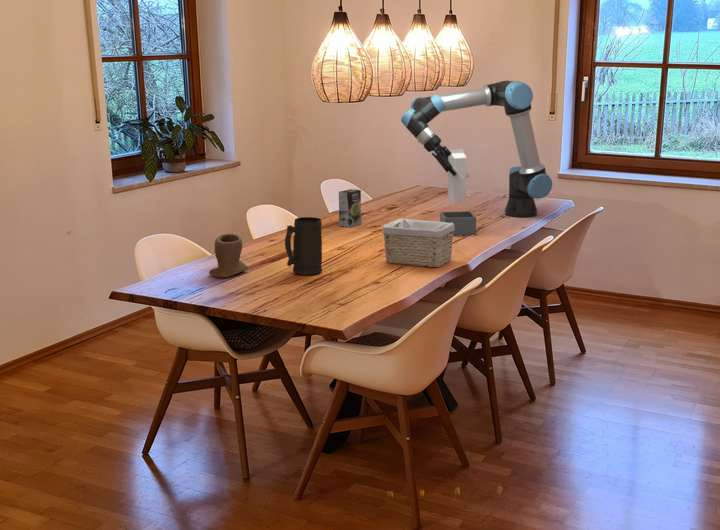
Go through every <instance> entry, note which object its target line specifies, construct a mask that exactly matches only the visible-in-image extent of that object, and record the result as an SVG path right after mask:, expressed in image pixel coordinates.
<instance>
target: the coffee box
mask: <svg viewBox="0 0 720 530" xmlns="http://www.w3.org/2000/svg"><path fill="white" fill-rule="evenodd" d="M361 192H362V190H361V189H351V188H349V189H346V190H341V191H338V226H339V227H342V226H344V227H343V228H348V227H350V228H354V227H356V225H357V226H361V225H362V195H361V194H362V193H361ZM360 224H361V225H360ZM353 226H354V227H353Z"/></svg>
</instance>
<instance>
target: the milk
mask: <svg viewBox="0 0 720 530" xmlns="http://www.w3.org/2000/svg"><path fill="white" fill-rule="evenodd" d="M464 151H465V150H464V148H463V149H461V148H460V149H452V150H451V151H450V152H451V154H450V155H449V156H448V161H449V162H450V164H451V166H452V168H453V167H454V168H455V169H456V170H457V171H458V172H459V173H460V174H461V175H462V177H463V178H464V179H463V180H462V181H461V182H458V181H457V180H456V179H455V178H454V177H453V175H452V174H451V173H450V172H449V171H448V172H447V201H449V202H452V203H461V202H467V179H468V178H467V172H468V171H467V170H468V169H467V166H468V163H467V161H468V158H467V156H466V154H465V152H464ZM466 178H467V179H466Z"/></svg>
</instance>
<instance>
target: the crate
mask: <svg viewBox="0 0 720 530" xmlns="http://www.w3.org/2000/svg"><path fill="white" fill-rule="evenodd" d="M439 218H440V219H439V222H446V223H454V227H455V230H454V231H453V237H461V236H460V235H476V236H477V217H476V215H475V214H474V213H473V212H472V211H471V210H468V211H467V210H465V211H440V212H439Z"/></svg>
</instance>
